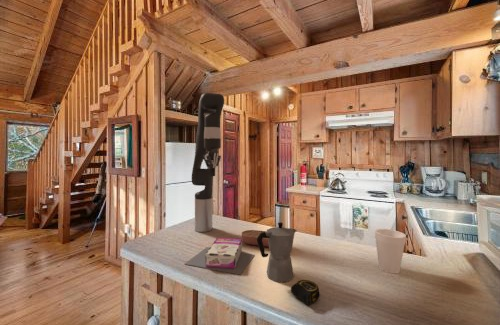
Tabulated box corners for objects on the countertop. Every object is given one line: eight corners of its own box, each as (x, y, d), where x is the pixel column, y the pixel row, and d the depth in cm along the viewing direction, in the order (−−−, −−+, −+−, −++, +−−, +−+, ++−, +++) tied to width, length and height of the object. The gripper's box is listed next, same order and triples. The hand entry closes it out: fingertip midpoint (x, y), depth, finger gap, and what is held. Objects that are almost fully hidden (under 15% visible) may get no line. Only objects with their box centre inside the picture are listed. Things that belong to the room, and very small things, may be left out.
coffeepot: (287, 265, 84) (288, 216, 83) (304, 277, 75) (305, 223, 75) (250, 274, 77) (250, 222, 77) (264, 289, 69) (264, 230, 68)
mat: (206, 248, 99) (206, 247, 99) (254, 255, 92) (254, 254, 92) (184, 264, 84) (184, 263, 84) (240, 274, 77) (240, 274, 77)
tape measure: (289, 296, 66) (289, 283, 66) (305, 288, 69) (306, 276, 69) (307, 309, 60) (307, 295, 60) (324, 300, 64) (324, 287, 64)
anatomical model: (238, 245, 102) (238, 234, 102) (247, 238, 111) (247, 228, 111) (288, 254, 93) (288, 242, 93) (293, 245, 102) (293, 235, 102)
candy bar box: (216, 248, 98) (204, 266, 81) (217, 237, 98) (204, 253, 81) (242, 250, 96) (235, 269, 80) (242, 238, 96) (235, 255, 80)
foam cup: (394, 278, 75) (395, 239, 75) (368, 266, 83) (369, 231, 83) (410, 271, 80) (411, 235, 79) (384, 260, 88) (385, 227, 87)
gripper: (212, 139, 110) (212, 174, 111) (197, 137, 98) (197, 177, 98) (226, 138, 108) (226, 175, 108) (212, 136, 95) (212, 177, 96)
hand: (212, 176), depth 103 cm, fingers closed
